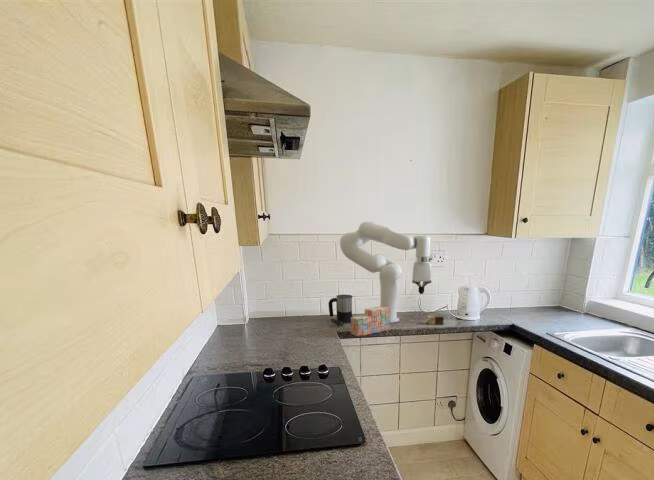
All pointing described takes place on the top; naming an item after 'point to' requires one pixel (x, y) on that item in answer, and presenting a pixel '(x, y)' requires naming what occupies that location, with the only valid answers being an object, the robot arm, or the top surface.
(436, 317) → the walnut block
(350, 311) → the milk frother
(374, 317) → the stack of blocks
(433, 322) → the birch block
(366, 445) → the top surface
